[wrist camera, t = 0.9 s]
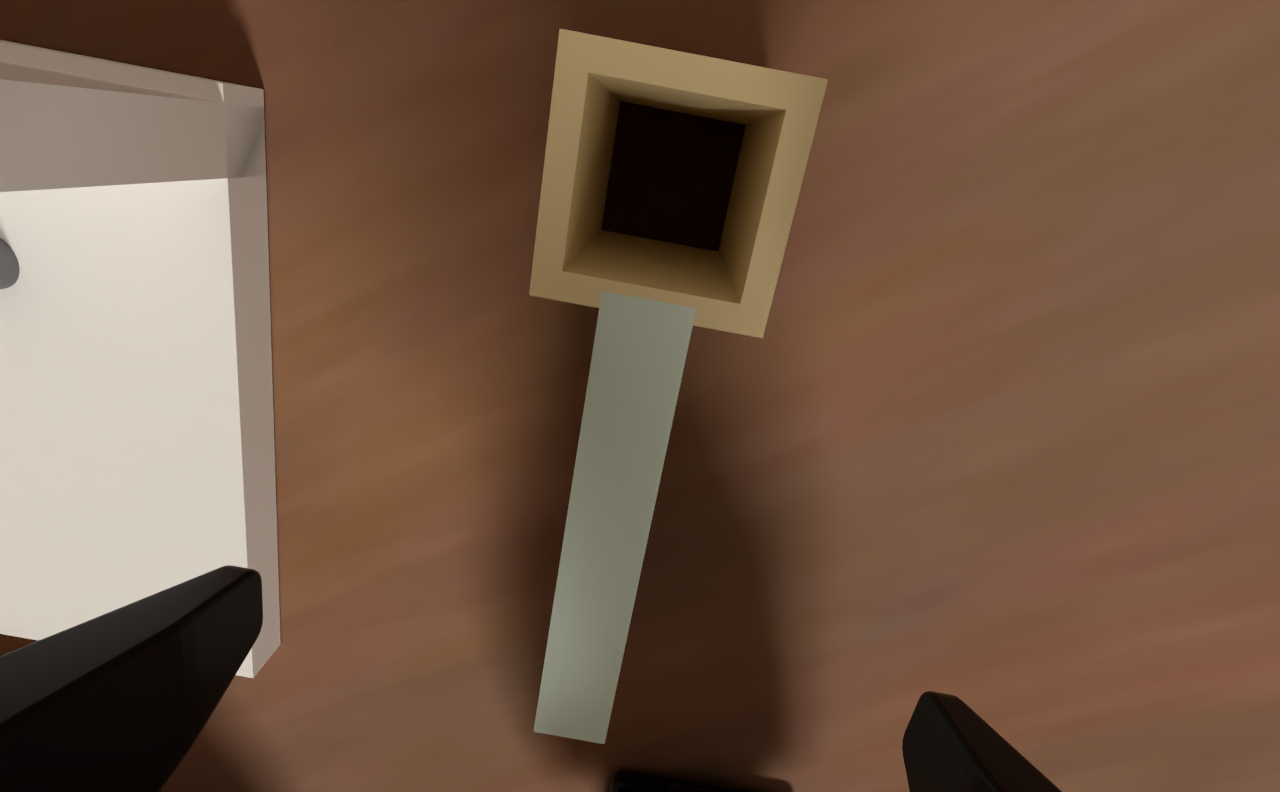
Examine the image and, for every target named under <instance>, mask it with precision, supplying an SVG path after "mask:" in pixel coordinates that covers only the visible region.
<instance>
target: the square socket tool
mask: <svg viewBox="0 0 1280 792" xmlns="http://www.w3.org/2000/svg"><path fill="white" fill-rule="evenodd" d="M827 82H828V79H823V78H818V77H812V76H807V75H802V74H796V73H791V72H786V71H781V70H775V69H770V68H765V67H760V66H754V65H749V64H744V63H739V62H733V61H728V60H723V59H718V58H712V57H707V56H702V55H697V54H691V53H686V52H681V51H676V50H670V49H665V48H660V47H655V46H649V45H644V44H639V43H634V42H628V41H623V40H618V39H612V38H607V37H602V36H597V35H591V34H586V33H581V32H576V31H570V30H565V29H560V30H559V39H558V47H557V56H556V65H555V73H554V82H553V91H552V99H551V108H550V117H549V126H548V134H547V143H546V152H545V160H544V169H543V178H542V186H541V195H540V204H539V213H538V221H537V230H536V239H535V247H534V256H533V265H532V273H531V282H530V291H529V295H531V296H536V297H541V298H547V299H552V300H558V301H563V302H569V303H574V304H579V305H585V306H590V307H596V308H599V314H598V320H597V327H596V333H595V339H594V346H593V352H592V359H591V365H590V372H589V378H588V384H587V391H586V397H585V404H584V410H583V416H582V423H581V429H580V436H579V442H578V449H577V455H576V461H575V468H574V474H573V481H572V487H571V494H570V500H569V506H568V513H567V519H566V526H565V532H564V539H563V545H562V551H561V558H560V564H559V571H558V577H557V584H556V590H555V596H554V603H553V609H552V616H551V622H550V628H549V635H548V641H547V648H546V654H545V661H544V667H543V673H542V680H541V686H540V693H539V699H538V706H537V712H536V718H535V725H534V731H533V732H537V733H543V734H549V735H554V736H560V737H566V738H572V739H577V740H583V741H589V742H594V743H600V744H605V740H606V735H607V730H608V726H609V721H610V716H611V711H612V707H613V702H614V697H615V692H616V688H617V683H618V678H619V674H620V669H621V664H622V659H623V655H624V650H625V645H626V640H627V636H628V631H629V626H630V621H631V617H632V612H633V607H634V602H635V598H636V593H637V588H638V583H639V579H640V574H641V569H642V564H643V560H644V555H645V550H646V545H647V541H648V536H649V531H650V526H651V522H652V517H653V512H654V507H655V503H656V498H657V493H658V488H659V484H660V479H661V474H662V469H663V465H664V460H665V455H666V450H667V446H668V441H669V436H670V431H671V427H672V422H673V417H674V412H675V408H676V403H677V398H678V394H679V389H680V384H681V379H682V375H683V370H684V365H685V360H686V356H687V351H688V346H689V341H690V337H691V332H692V327H693V326H699V327H704V328H710V329H715V330H720V331H726V332H731V333H737V334H742V335H748V336H753V337H758V338H763V335H764V331H765V327H766V323H767V319H768V315H769V311H770V307H771V304H772V300H773V296H774V292H775V288H776V284H777V280H778V276H779V272H780V268H781V264H782V260H783V256H784V252H785V248H786V244H787V240H788V236H789V232H790V228H791V224H792V220H793V216H794V212H795V208H796V205H797V201H798V197H799V193H800V189H801V185H802V181H803V177H804V173H805V169H806V165H807V161H808V157H809V153H810V149H811V145H812V141H813V137H814V133H815V129H816V125H817V121H818V117H819V113H820V110H821V106H822V102H823V98H824V94H825V90H826V86H827ZM620 101H623V102H628V103H633V104H638V105H644V106H649V107H654V108H660V109H665V110H670V111H675V112H681V113H686V114H691V115H697V116H702V117H707V118H713V119H718V120H723V121H728V122H734V123H739V124H744V125H746V126H745V130H744V135H743V140H742V144H741V149H740V153H739V158H738V163H737V167H736V172H735V177H734V181H733V186H732V190H731V195H730V200H729V204H728V209H727V214H726V218H725V223H724V228H723V232H722V237H721V241H720V246H719V251H718V252H717V251H712V250H706V249H701V248H696V247H690V246H685V245H680V244H674V243H669V242H663V241H658V240H653V239H647V238H642V237H637V236H631V235H626V234H620V233H615V232H610V231H604V230H601V228H602V221H603V214H604V208H605V201H606V194H607V188H608V181H609V174H610V168H611V161H612V154H613V148H614V141H615V134H616V128H617V121H618V114H619V108H620Z"/></svg>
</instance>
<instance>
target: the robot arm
mask: <svg viewBox="0 0 1280 792" xmlns="http://www.w3.org/2000/svg"><path fill="white" fill-rule="evenodd" d="M262 624H263V600H262V579H261V575H260V573H259V572H258V571H256V570H254V569H249V568H243V567H238V566H231V565H227V566H223V567H220V568H217V569H215V570H212V571H210V572H208V573H205V574H203V575H200V576H198V577H195V578H193V579H190V580H188V581H185V582H183V583H180V584H178V585H175V586H173V587H170V588H168V589H165V590H163V591H160V592H158V593H156V594H153V595H151V596H148V597H146V598H143V599H141V600H138V601H136V602H133V603H131V604H128V605H126V606H123V607H121V608H118V609H116V610H113V611H111V612H109V613H106V614H104V615H101V616H99V617H96V618H94V619H91V620H89V621H86V622H84V623H81V624H79V625H76V626H74V627H71V628H69V629H66V630H64V631H61V632H59V633H57V634H54V635H52V636H49V637H47V638H44V639H42V640H39V641H37V642H34V643H32V644H29V645H27V646H24V647H22V648H19V649H17V650H14V651H12V652H9V653H7V654H4V655H2V656H0V792H159V791H160V790H161V788H162V787H163V786H164V784H165V783H166V782H167V780H168V779H169V777H170V776H171V775H172V773H173V772H174V771H175V769H176V768H177V767H178V765H179V764H180V762H181V761H182V760H183V758H184V757H185V755H186V754H187V753H188V751H189V750H190V748H191V747H192V745H193V744H194V742H195V741H196V739H197V737H198V736H199V734H200V733H201V731H202V730H203V728H204V726H205V725H206V723H207V721H208V720H209V718H210V716H211V715H212V713H213V711H214V710H215V708H216V706H217V705H218V703H219V701H220V700H221V698H222V696H223V695H224V693H225V691H226V690H227V688H228V686H229V685H230V683H231V681H232V680H233V678H234V676H235V675H236V673H237V671H238V670H239V668H240V666H241V665H242V663H243V662H244V660H245V658H246V657H247V655H248V653H249V652H250V650H251V648H252V647H253V645H254V643H255V642H256V640H257V638H258V636H259V634H260V631H261V628H262ZM902 747H903V757H904V763H905V768H906V773H907V779H908V784H909V789H910V792H1062V791H1061V790H1059V789H1058V788H1057V787H1056V786H1055V785H1054V784H1053V783H1052V782H1051V781H1050V780H1049V779H1047V778H1046V777H1045V776H1044V775H1043V774H1042V773H1041V772H1040V771H1039V770H1038V769H1036V768H1035V767H1034V766H1033V765H1032V764H1031V763H1030V762H1029V761H1028V760H1027V759H1025V758H1024V757H1023V756H1022V755H1021V754H1020V753H1019V752H1018V751H1017V750H1016V749H1014V748H1013V747H1012V746H1011V745H1010V744H1009V743H1008V742H1007V741H1006V740H1005V739H1003V738H1002V737H1001V736H1000V735H999V734H998V733H997V732H996V731H995V730H994V729H993V728H991V727H990V726H989V725H988V724H987V723H986V722H985V721H984V720H983V719H982V718H980V717H979V716H978V715H977V714H976V713H975V712H974V711H973V710H972V709H971V708H969V707H968V706H967V705H966V704H965V703H964V702H963V701H962V700H960V699H959V698H958V697H956V696H953V695H949V694H944V693H938V692H932V691H928V692H925V693H923V694H922V695H921V697H920V699H919V701H918V703H917V705H916V708H915V710H914V712H913V715H912V717H911V719H910V722H909V724H908V726H907V729H906V731H905V734H904V737H903V746H902ZM609 792H743V791H738V790H732V789H726V788H720V787H715V786H709V785H703V784H697V783H692V782H686V781H680V780H675V779H669V778H663V777H657V776H652V775H646V774H640V773H634V772H629V771H622V772H619V773H617V774H615V775H614V776H613V778H612V782H611V786H610V791H609Z"/></svg>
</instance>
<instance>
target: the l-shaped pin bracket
mask: <svg viewBox="0 0 1280 792" xmlns="http://www.w3.org/2000/svg"><path fill="white" fill-rule="evenodd" d="M227 565H231V566H238V567H243V568H249V569H254V570H256V571H258V572H259V573H260V575H261V579H262V600H263V624H262V628H261V631H260V634H259V636H258V638H257V640H256V642H255V643H254V645H253V647H252V648H251V650H250V652H249V653H248V655H247V657H246V658H245V660H244V662H243V663H242V665H241V666H240V668H239V670H238V671H237V673H236V675H238V676H244V677H249V678H254V677H255V675H256V674H257V673H258V672H259V670H260V669H261V668H262V667H263V665H264V664H265V663H266V662H267V660H268V659H269V658H270V657H271V655H272V654H273V653H274V652H275V650H276V649H277V648H278V647H279V645H280V644H281V640H280V607H279V575H278V542H277V510H276V477H275V445H274V412H273V380H272V347H271V314H270V282H269V249H268V217H267V184H266V152H265V119H264V89H260V88H254V87H249V86H244V85H238V84H233V83H228V82H222V81H217V80H212V79H206V78H201V77H196V76H190V75H185V74H180V73H174V72H169V71H164V70H158V69H153V68H148V67H142V66H137V65H132V64H126V63H121V62H116V61H110V60H105V59H100V58H94V57H89V56H84V55H78V54H73V53H68V52H62V51H57V50H52V49H46V48H41V47H36V46H30V45H25V44H20V43H15V42H9V41H4V40H0V634H4V635H10V636H15V637H21V638H27V639H32V640H38V641H39V640H42V639H44V638H47V637H49V636H52V635H54V634H57V633H59V632H61V631H64V630H66V629H69V628H71V627H74V626H76V625H79V624H81V623H84V622H86V621H89V620H91V619H94V618H96V617H99V616H101V615H104V614H106V613H109V612H111V611H113V610H116V609H118V608H121V607H123V606H126V605H128V604H131V603H133V602H136V601H138V600H141V599H143V598H146V597H148V596H151V595H153V594H156V593H158V592H160V591H163V590H165V589H168V588H170V587H173V586H175V585H178V584H180V583H183V582H185V581H188V580H190V579H193V578H195V577H198V576H200V575H203V574H205V573H208V572H210V571H212V570H215V569H217V568H220V567H223V566H227Z"/></svg>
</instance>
